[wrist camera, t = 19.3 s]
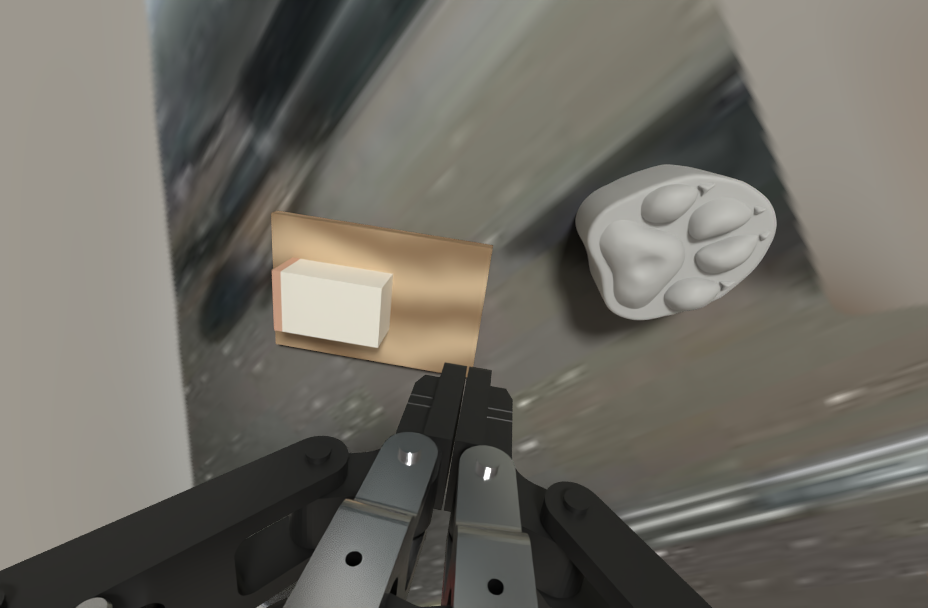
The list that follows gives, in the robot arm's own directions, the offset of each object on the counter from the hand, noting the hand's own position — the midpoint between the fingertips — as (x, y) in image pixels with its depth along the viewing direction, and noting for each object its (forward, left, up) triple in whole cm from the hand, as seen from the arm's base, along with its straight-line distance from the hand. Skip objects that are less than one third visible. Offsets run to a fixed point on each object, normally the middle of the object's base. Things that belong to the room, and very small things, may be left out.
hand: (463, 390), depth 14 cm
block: (+10, -9, -26) cm, 29 cm away
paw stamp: (-1, +14, -29) cm, 32 cm away
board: (+10, -10, -29) cm, 32 cm away
